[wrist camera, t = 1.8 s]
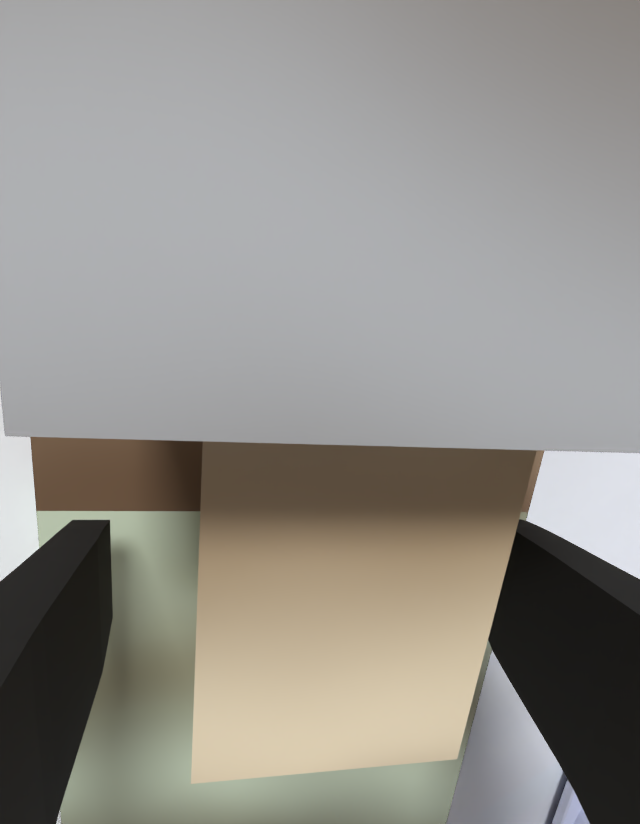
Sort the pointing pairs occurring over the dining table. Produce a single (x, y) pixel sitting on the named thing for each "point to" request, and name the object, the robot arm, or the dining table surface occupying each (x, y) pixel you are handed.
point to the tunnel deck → (298, 298)
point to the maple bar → (345, 602)
